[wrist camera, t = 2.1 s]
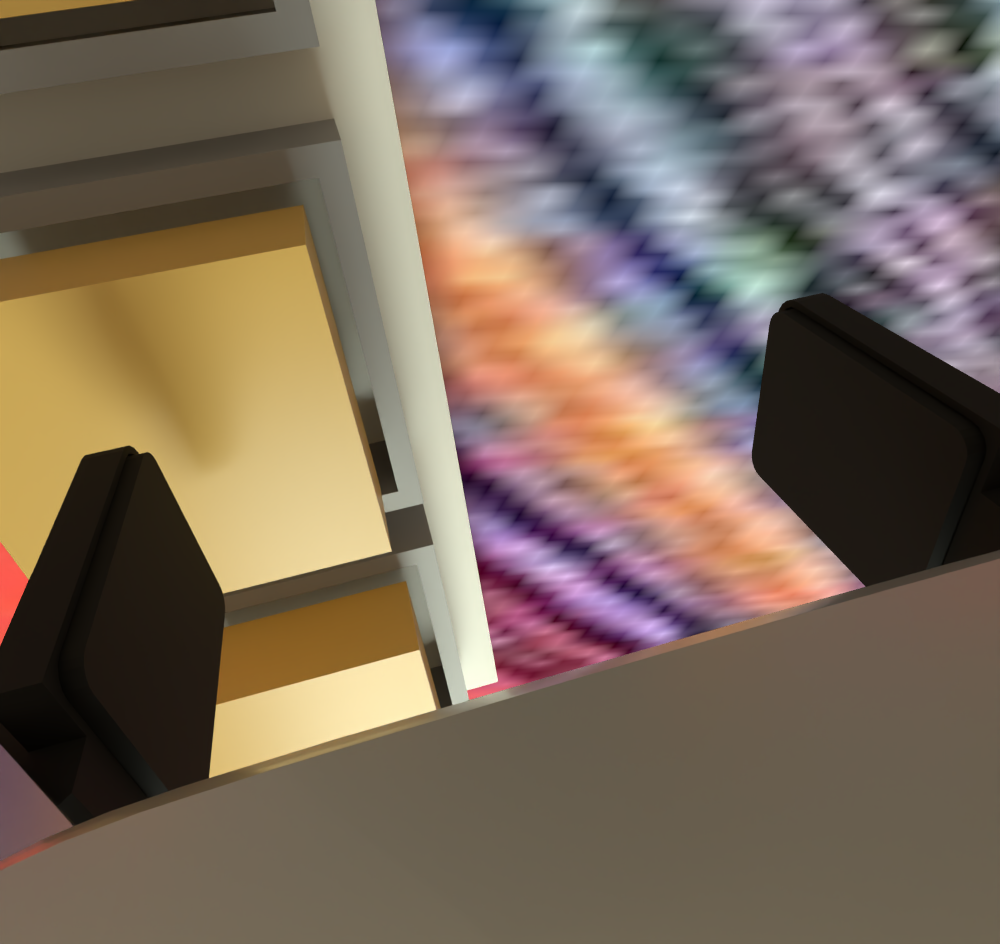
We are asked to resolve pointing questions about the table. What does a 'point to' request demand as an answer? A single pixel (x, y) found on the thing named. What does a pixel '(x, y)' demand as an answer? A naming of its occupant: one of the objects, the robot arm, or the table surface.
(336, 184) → the strip
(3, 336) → the button middle
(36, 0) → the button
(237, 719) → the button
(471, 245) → the table surface
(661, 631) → the table surface
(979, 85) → the table surface
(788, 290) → the table surface
